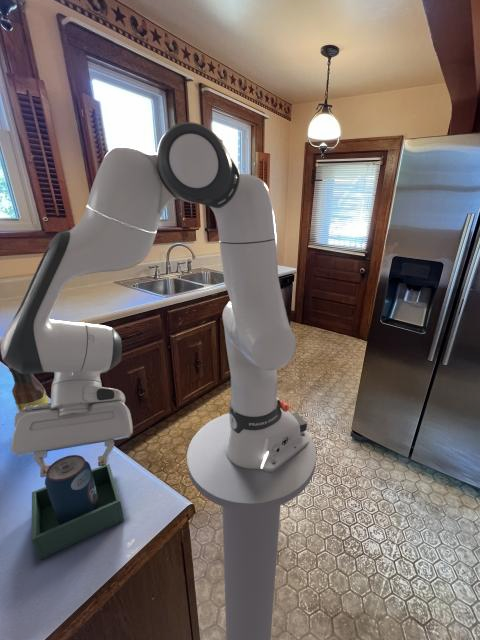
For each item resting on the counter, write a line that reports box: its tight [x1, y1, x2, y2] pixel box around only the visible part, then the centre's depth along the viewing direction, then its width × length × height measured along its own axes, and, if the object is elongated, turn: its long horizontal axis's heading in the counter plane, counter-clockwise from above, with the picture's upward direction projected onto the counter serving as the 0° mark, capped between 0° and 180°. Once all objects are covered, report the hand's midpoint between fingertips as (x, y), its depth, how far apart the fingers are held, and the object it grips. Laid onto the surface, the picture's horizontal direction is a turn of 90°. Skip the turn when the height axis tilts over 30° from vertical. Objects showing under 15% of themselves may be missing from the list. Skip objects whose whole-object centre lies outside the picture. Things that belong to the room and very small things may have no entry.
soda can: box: [44, 454, 99, 525], centre depth 58 cm, size 7×7×12 cm
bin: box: [31, 463, 125, 561], centre depth 59 cm, size 13×11×5 cm
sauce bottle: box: [7, 365, 50, 412], centre depth 77 cm, size 7×6×20 cm
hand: (75, 470), depth 59 cm, fingers open, 8 cm apart
